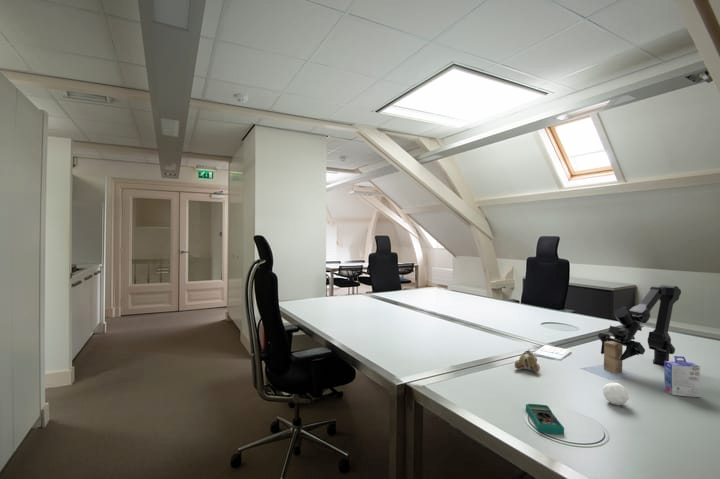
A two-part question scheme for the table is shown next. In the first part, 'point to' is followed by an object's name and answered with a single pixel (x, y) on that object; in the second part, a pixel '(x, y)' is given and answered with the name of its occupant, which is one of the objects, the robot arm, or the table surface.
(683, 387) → the ink cartridge box
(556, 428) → the digital multimeter
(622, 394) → the geometric ball
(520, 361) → the ceramic sculpture
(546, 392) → the table surface
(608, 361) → the walnut block
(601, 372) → the desk pad
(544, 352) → the calculator
